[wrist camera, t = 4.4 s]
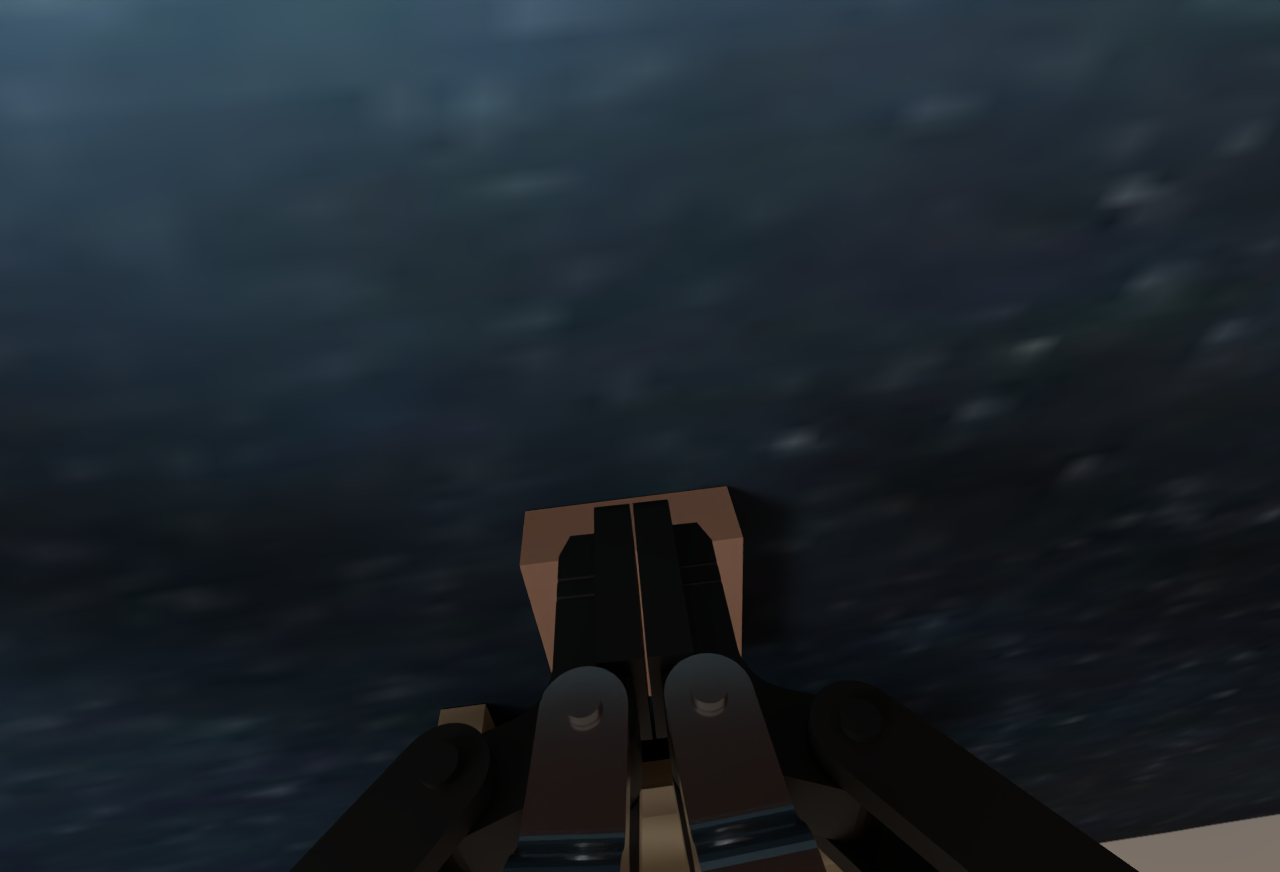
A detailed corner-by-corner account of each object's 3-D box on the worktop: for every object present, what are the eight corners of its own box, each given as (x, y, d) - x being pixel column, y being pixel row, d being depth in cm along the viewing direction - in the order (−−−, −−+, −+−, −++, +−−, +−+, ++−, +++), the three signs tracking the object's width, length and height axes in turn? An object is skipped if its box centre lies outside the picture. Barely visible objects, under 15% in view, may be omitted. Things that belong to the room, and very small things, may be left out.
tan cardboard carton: (525, 511, 21) (519, 565, 19) (726, 485, 21) (742, 537, 19) (563, 651, 25) (561, 707, 23) (727, 630, 25) (741, 684, 23)
